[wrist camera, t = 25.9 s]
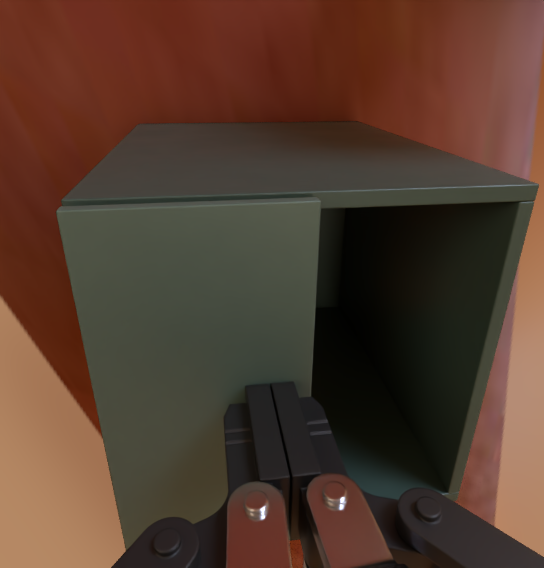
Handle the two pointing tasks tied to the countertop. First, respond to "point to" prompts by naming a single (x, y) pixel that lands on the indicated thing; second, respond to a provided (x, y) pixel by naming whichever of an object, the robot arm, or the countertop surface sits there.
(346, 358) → the dark green open box
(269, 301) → the flap
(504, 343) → the countertop surface
